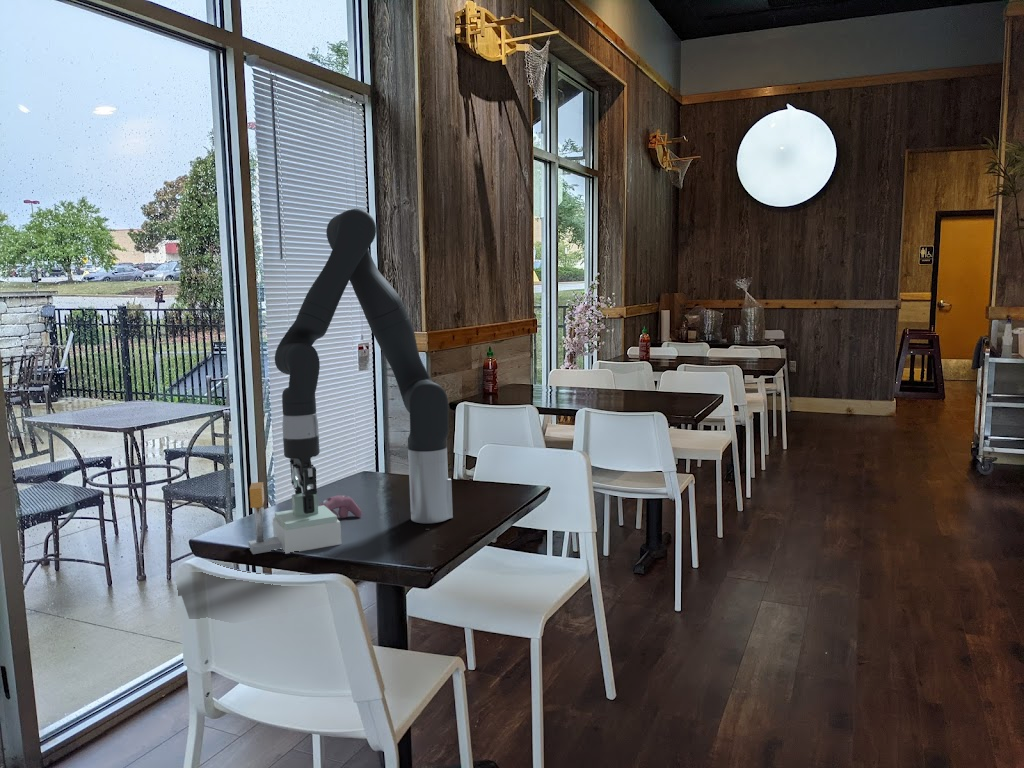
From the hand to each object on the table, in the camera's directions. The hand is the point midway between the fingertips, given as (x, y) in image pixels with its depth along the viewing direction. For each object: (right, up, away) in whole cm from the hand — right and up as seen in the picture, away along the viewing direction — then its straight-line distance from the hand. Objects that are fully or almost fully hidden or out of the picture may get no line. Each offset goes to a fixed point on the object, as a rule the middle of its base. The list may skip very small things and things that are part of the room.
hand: (305, 509), depth 177 cm
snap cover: (0, -2, 0) cm, 2 cm away
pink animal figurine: (+4, -6, +18) cm, 19 cm away
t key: (-9, -6, -2) cm, 11 cm away
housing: (-2, -8, -1) cm, 8 cm away
